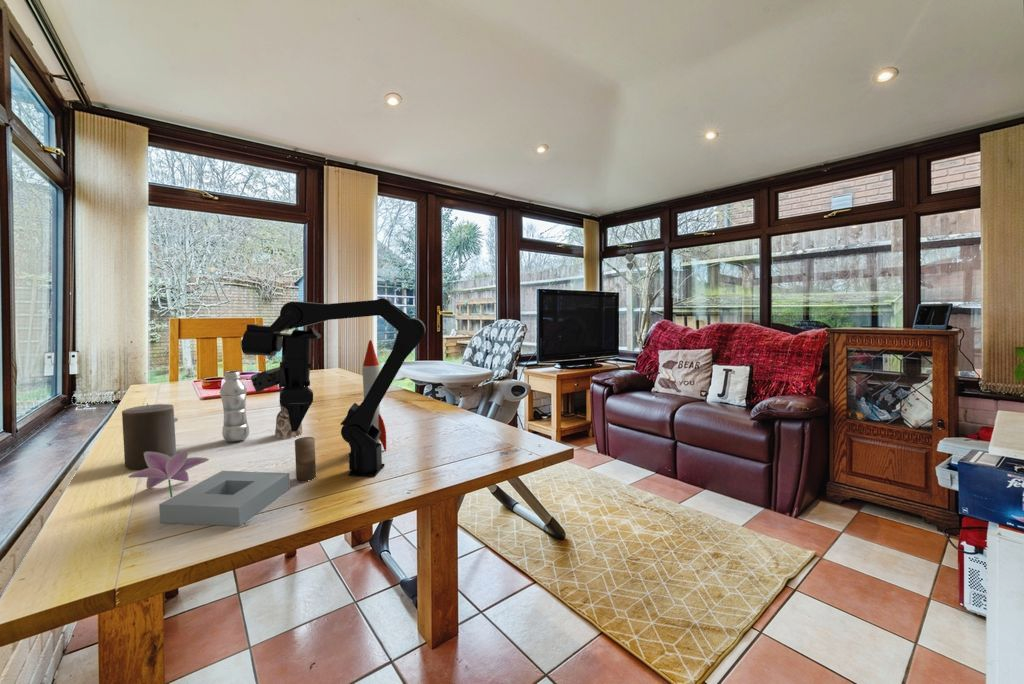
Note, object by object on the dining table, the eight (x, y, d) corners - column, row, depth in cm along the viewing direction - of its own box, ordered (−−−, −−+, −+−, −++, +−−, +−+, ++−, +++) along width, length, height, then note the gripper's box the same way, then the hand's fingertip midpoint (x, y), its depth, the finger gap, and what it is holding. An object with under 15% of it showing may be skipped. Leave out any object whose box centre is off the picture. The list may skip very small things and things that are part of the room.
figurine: (272, 439, 120) (270, 399, 119) (279, 432, 127) (277, 393, 126) (299, 437, 122) (297, 397, 121) (304, 430, 129) (303, 392, 128)
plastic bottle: (228, 446, 115) (223, 374, 113) (219, 441, 119) (214, 371, 117) (253, 440, 120) (250, 371, 118) (244, 435, 124) (240, 369, 122)
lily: (219, 484, 93) (210, 444, 95) (188, 486, 82) (179, 440, 84) (159, 507, 90) (151, 465, 93) (119, 512, 79) (111, 463, 81)
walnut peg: (319, 474, 96) (317, 437, 96) (310, 482, 92) (308, 442, 92) (302, 474, 97) (301, 436, 96) (292, 481, 93) (290, 442, 92)
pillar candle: (147, 471, 97) (143, 408, 96) (114, 467, 99) (110, 406, 98) (186, 457, 107) (184, 399, 106) (156, 454, 109) (152, 397, 108)
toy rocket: (379, 445, 117) (376, 338, 114) (387, 450, 113) (384, 340, 110) (359, 449, 113) (356, 339, 111) (366, 455, 109) (363, 341, 106)
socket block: (289, 488, 89) (289, 473, 89) (239, 526, 74) (238, 507, 74) (223, 486, 90) (222, 470, 90) (160, 522, 75) (159, 504, 75)
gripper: (255, 351, 98) (253, 416, 99) (252, 363, 82) (249, 441, 83) (308, 352, 103) (305, 413, 104) (314, 363, 87) (311, 436, 88)
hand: (293, 425), depth 95 cm, fingers open, 9 cm apart
